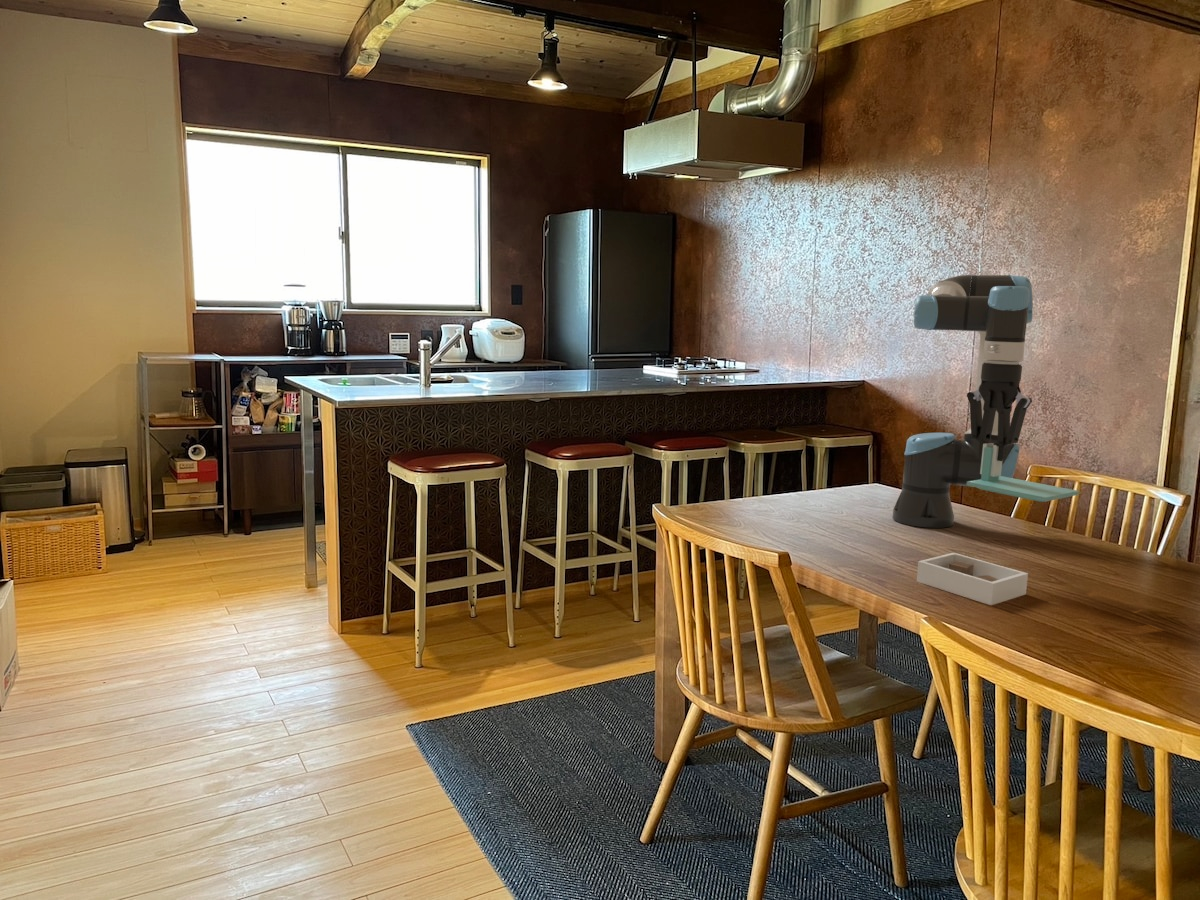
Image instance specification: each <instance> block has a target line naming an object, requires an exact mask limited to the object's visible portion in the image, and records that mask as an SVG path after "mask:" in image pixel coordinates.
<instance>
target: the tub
mask: <svg viewBox="0 0 1200 900" xmlns="http://www.w3.org/2000/svg"><path fill="white" fill-rule="evenodd" d="M954 561H961V562H965V563H969V564H974V567H973V576H971V575H967V574H964V573H961V572H957V571H954V570H950V569H949V564H950V563H952V562H954ZM984 575H989V576H992V577H994V578H997V579H999V580H996V581H993V582H991V581H987V580H984V579H981V578H977V577H974V576H984ZM1028 578H1029V573H1028V572H1025V571H1021V570H1017V569H1014V568H1010V567H1006V566H1002V565H999V564H996V563H992V562H988V561H985V560H981V559H978V558H974V557H971V556H969V555H968V556H967V555H963V554H960V553H957V552H951V553H947V554H946V553H945V554H942V555H938V556H934V557H931V558H927V559H923V560H922V559H921V560H918V563H917V573H916V582H917V583H920V584H922V585H926V586H930V587H932V588H935V589H937V590H938V589H939V590H942V591H944V592H948V593H950V594H954V595H956V596H957V595H958V596H960V597H963V598H966V599H969V600H973V601H975V602H978V603H982V604H985V605H989V606H994V605H998V604H1000V603H1002V602H1007V601H1011V600H1012V599H1017V598H1020V597H1022V596H1025V595H1027V588H1028V587H1027V586H1028Z"/></svg>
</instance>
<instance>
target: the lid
mask: <svg viewBox="0 0 1200 900" xmlns="http://www.w3.org/2000/svg"><path fill="white" fill-rule="evenodd" d="M992 456H993V446H990V447H984V455H983V465H982V474H981V479H979V480H973V481H967V486H966V487H971V486H972V487H973V488H978V490H981V491H986V492H992V493H995V494H1001V495H1006V496H1011V497H1014V498H1015V497H1016V498H1019V499H1025V500H1030V501H1035V502H1038V503H1039V502H1040V503H1043V502H1050V501H1055V500H1059V499H1060V500H1061V499H1066V498H1070V497H1074V496H1078V495H1079V494H1080V491H1079V490H1076V489H1071V488H1065V487H1060V486H1055V485H1050V484H1044V483H1039V482H1035V481H1030V480H1029V481H1028V480H1024V479H1023V480H1022V479H1020V478H1014V477H1013V478H1009V477H1003V476H995V477H993V476H990V475H991V465H992Z"/></svg>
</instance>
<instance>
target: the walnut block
mask: <svg viewBox="0 0 1200 900" xmlns="http://www.w3.org/2000/svg"><path fill="white" fill-rule="evenodd" d="M973 567H974V564H969V563H965V562H961V561H954V562H952V563H950V564H949V569H950V570H954V571H957V572H961V573H964V574H967V575H971V576H973Z"/></svg>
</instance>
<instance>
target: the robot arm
mask: <svg viewBox="0 0 1200 900" xmlns="http://www.w3.org/2000/svg"><path fill="white" fill-rule="evenodd" d="M1033 304H1034V302H1033V289H1032V283H1031V280H1030V279H1029V278H1028V277H1027V276H1021V275H1012V274H1008V275H1004V274H1003V275H1001V274H997V275H996V274H994V275H991V274H990V275H987V274H986V275H983V274H980V275H979V274H977V275H975V274H974V275H971V274H962V275H957V276H953V277H948V278H946V279H942V280H939V281H938V282H937V283H935V284H934V285H932V286H931V287H930V288H929V289H928V292H927V294H926V295H918V296H916V299H915V303H914V313H913V314H914V315H913V325H914V327H915V328H916V329H918V330H927V331H932V330H933V331H964V332H978V334H979V336H980V337H979V347H978V357H977V358H978V359H977V366H976V367H977V369H976V377H975V379H976V380H975V386H974V387H975V389H974V390H973V391H970V392H967V393H966V397H967V399H968V403H969V413H970V414H969V415H970V418H969V419H970V428H969V429H968V430H966V431H965V432H964V434H963V439H956V435H955V434H954V433H953V432H952V433H951V432H924V433H917V434H914V435H911V436H909V438H907V440H906V444H905V445H906V446H905V451H904V453H903V454H904V466H903V472H902V473H903V475H902V485H901V492H900V493H899V496H898V498H897V499H896V500H897V501H896V503H895V505H894V507H893V510H892V519H893V520H894V521H895V522H897V523H901V524H904V525H908V526H913V527H917V528H919V527H920V528H927V529H929V528H930V529H940V528H941V529H942V528H943V529H945V528H950V527H953V526H954V523H955V513H954V510H953V506H952V505H953V504H952V501H951V497H950V491H951V490H950V489H951V485H952V486H953V485H954V486H961V487H962V486H963V487H968V486H967V481H973V480H979V479H981V474H982V465H983V455H984V447H990V446H993V456H992V465H991V475H990V476H993V477H995V476H1003V477H1009V478H1014V474H1015V470H1016V468H1017V463H1018V460H1019V455H1020V453H1019V452H1020V449H1021V447H1020V444H1018V442H1019V439H1020V436H1021V432H1022V428H1023V425H1024V420H1025V417H1026V415H1027V414H1026V413H1027V410H1028V408H1029V407H1030V405H1031V404H1032V402H1033V399H1032V397H1026V396H1025V395H1023V394H1022V390H1021V387H1020V383H1021V380H1022V372H1023V371H1022V370H1023V366H1022V364H1020V363H1021V362H1023V361H1024V353H1025V345H1026V344H1025V342H1026V332H1027V324H1029V323H1032V321H1033V307H1034V306H1033ZM1014 402H1015V405H1016V406H1014V411H1013V410H1012V409H1013V408H1012V407H1013V404H1014ZM1012 411H1013V413H1012V417H1011V412H1012ZM970 487H972V486H970Z"/></svg>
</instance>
